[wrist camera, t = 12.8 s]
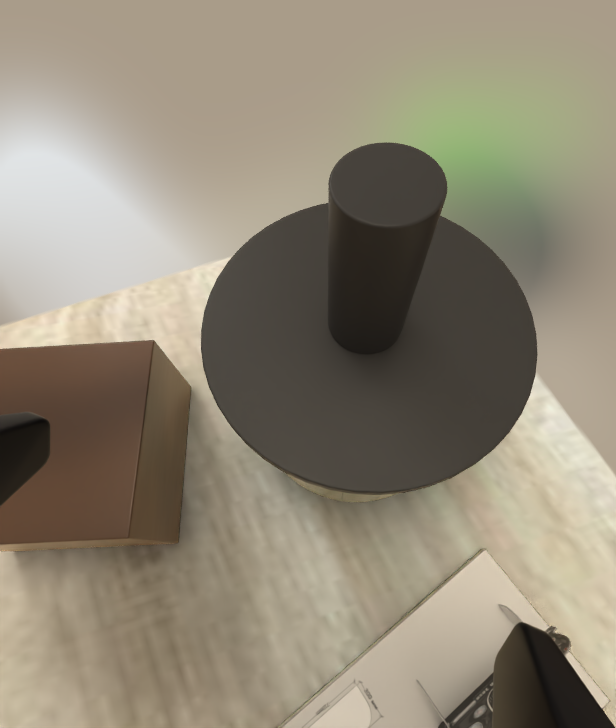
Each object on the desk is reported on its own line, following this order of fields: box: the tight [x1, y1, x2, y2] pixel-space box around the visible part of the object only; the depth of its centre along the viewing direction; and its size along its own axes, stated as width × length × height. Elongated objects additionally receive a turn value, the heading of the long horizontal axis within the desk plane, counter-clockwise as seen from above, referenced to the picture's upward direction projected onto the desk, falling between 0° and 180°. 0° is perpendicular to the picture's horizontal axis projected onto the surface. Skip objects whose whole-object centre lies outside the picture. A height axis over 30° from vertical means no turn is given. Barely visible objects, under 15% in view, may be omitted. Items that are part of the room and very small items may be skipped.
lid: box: [201, 143, 537, 495], centre depth 12 cm, size 12×12×6 cm
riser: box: [0, 340, 191, 551], centre depth 19 cm, size 8×8×6 cm
